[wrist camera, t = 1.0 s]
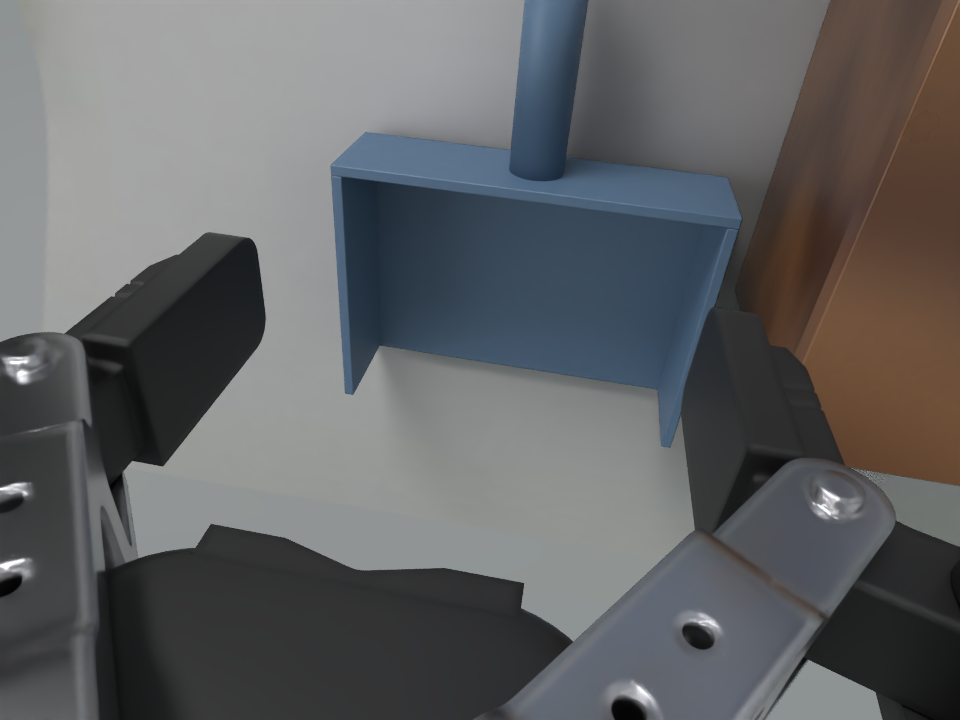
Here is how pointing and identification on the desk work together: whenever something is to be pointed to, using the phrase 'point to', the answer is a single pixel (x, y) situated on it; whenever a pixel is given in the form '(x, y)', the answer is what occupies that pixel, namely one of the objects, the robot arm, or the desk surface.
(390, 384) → the desk surface
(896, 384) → the storage box
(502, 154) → the dustpan
